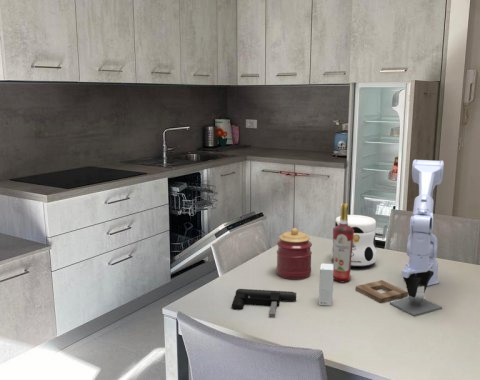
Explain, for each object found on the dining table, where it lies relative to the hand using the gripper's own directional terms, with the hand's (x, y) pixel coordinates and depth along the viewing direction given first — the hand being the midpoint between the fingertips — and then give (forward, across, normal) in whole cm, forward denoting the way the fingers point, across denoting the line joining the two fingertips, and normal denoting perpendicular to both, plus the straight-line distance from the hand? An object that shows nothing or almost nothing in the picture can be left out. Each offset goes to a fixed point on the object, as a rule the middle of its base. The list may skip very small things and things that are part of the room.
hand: (416, 294), depth 152 cm
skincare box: (+4, +20, -20) cm, 28 cm away
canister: (+4, +11, -44) cm, 46 cm away
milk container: (+4, -17, -39) cm, 42 cm away
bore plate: (+4, 0, -13) cm, 14 cm away
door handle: (+5, +38, -29) cm, 48 cm away
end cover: (+2, 0, 0) cm, 2 cm away
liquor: (+4, +1, -30) cm, 30 cm away
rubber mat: (+4, 0, 0) cm, 4 cm away
